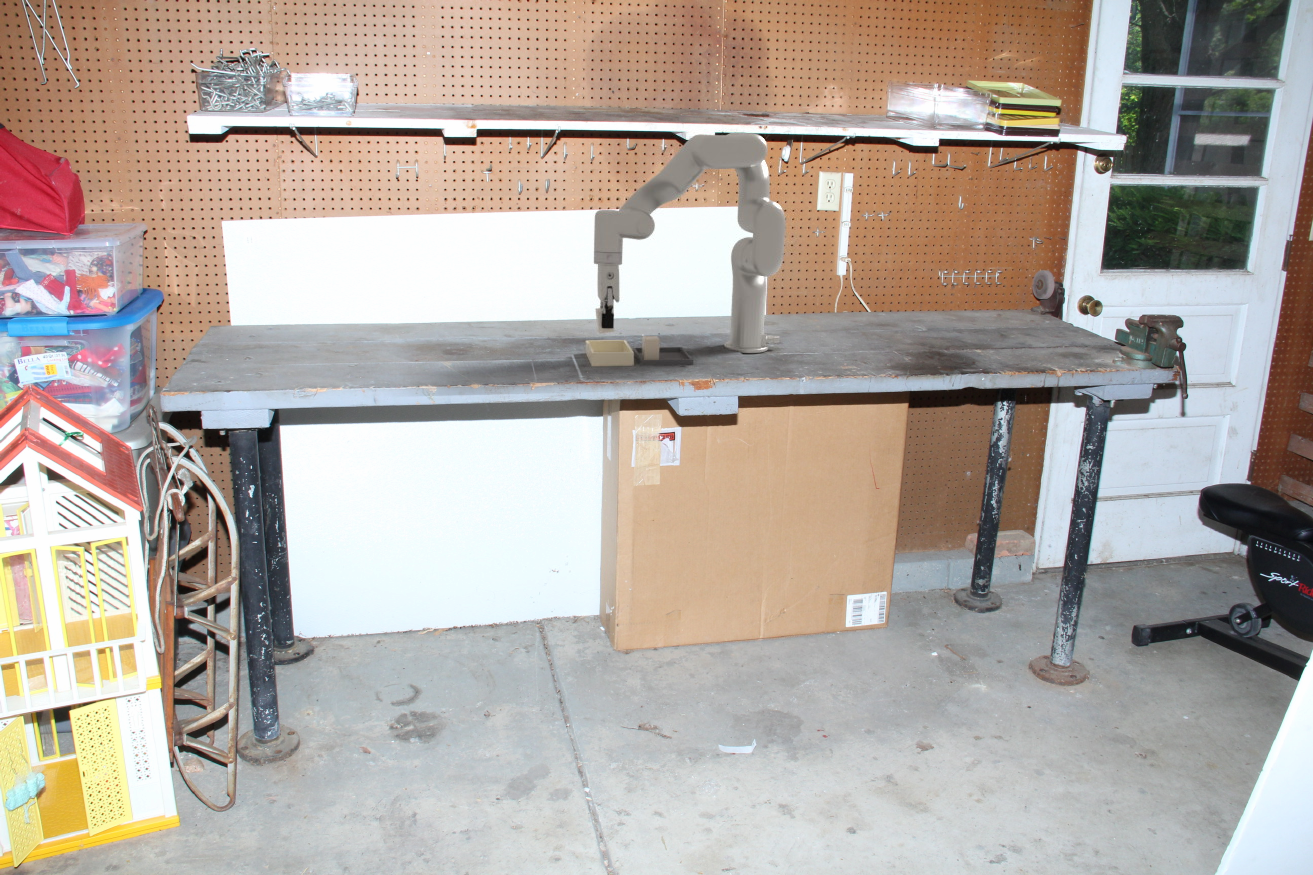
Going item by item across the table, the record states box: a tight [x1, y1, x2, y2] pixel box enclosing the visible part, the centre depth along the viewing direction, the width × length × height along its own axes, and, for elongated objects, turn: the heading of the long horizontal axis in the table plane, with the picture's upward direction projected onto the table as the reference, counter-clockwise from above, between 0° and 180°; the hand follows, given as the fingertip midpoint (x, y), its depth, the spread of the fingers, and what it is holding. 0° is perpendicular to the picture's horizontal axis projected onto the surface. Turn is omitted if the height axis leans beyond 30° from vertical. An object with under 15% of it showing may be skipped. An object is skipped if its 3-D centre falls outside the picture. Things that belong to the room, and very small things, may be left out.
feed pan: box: [631, 346, 694, 366], centre depth 266 cm, size 14×15×2 cm
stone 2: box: [641, 335, 660, 360], centre depth 263 cm, size 4×4×6 cm
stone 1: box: [595, 307, 615, 334], centre depth 264 cm, size 4×4×6 cm
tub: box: [585, 339, 635, 367], centre depth 263 cm, size 11×15×4 cm
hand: (606, 325), depth 264 cm, fingers closed on stone 1, 4 cm apart
